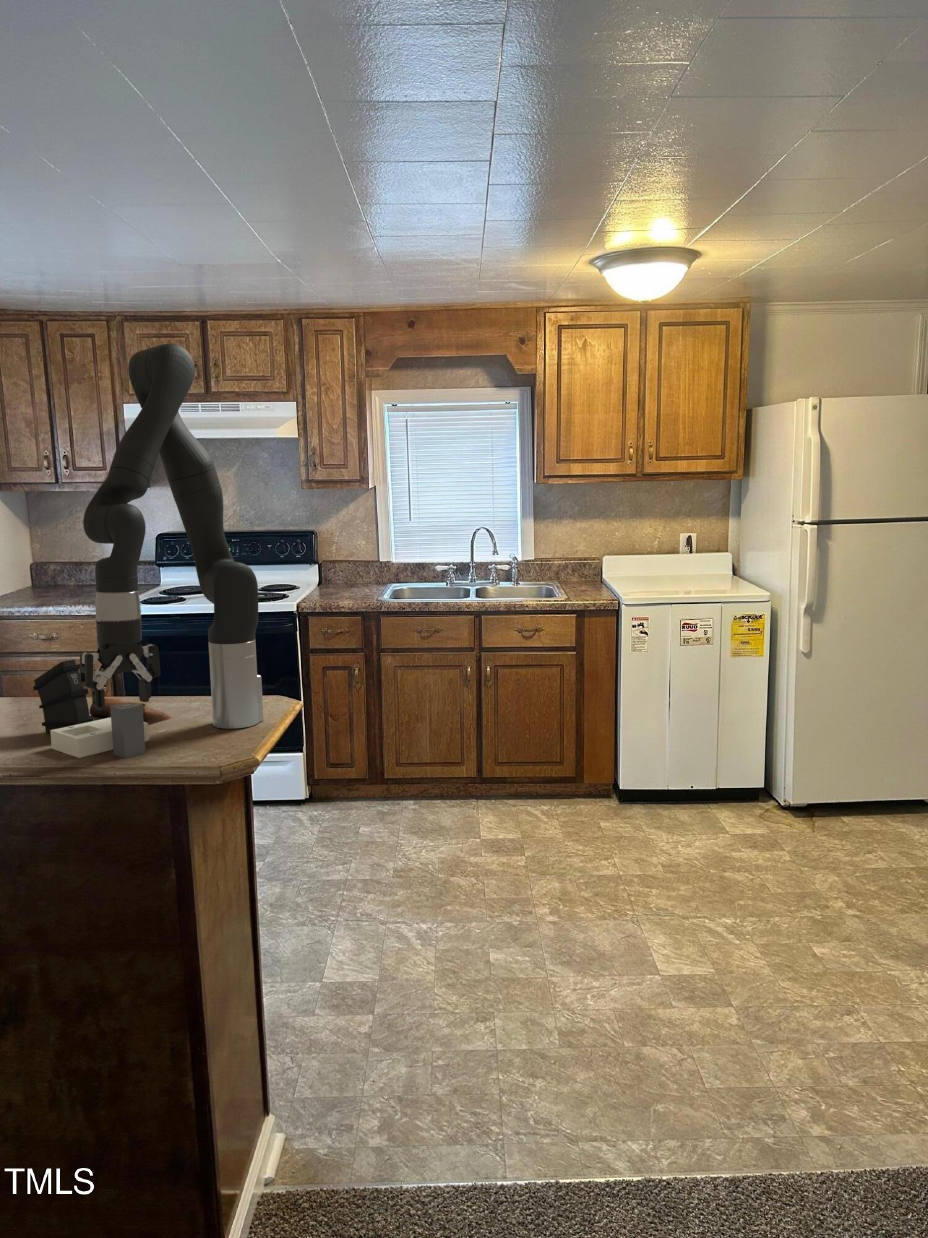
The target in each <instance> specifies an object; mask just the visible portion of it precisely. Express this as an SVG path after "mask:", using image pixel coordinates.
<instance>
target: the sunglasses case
mask: <svg viewBox="0 0 928 1238" xmlns="http://www.w3.org/2000/svg"><path fill="white" fill-rule="evenodd" d="M128 702H132V703H136V704H140V705H142V706H143V721H144V722H146V723H148V726H150V725H154V724H159V723H161V722H164V721H168V720H171V719H173V717H172V716H171V715H169V714H168V713H165V712H163V711H162V710H157V709H156V708H153V707H149V706H146V704H147V703H145V702H141V701H140V702H138V701H130V700H127V699H122V698H110V697H109V698H107V697H106V698H105V710H97V709H96V708H95V707H94V706H93V704H92V703H91V705H90V708H89V715H90V716H100V717H102V716H104V717H109V718H110V717H111V711H110V706H113V705H118V704H123V703H128Z"/></svg>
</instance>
